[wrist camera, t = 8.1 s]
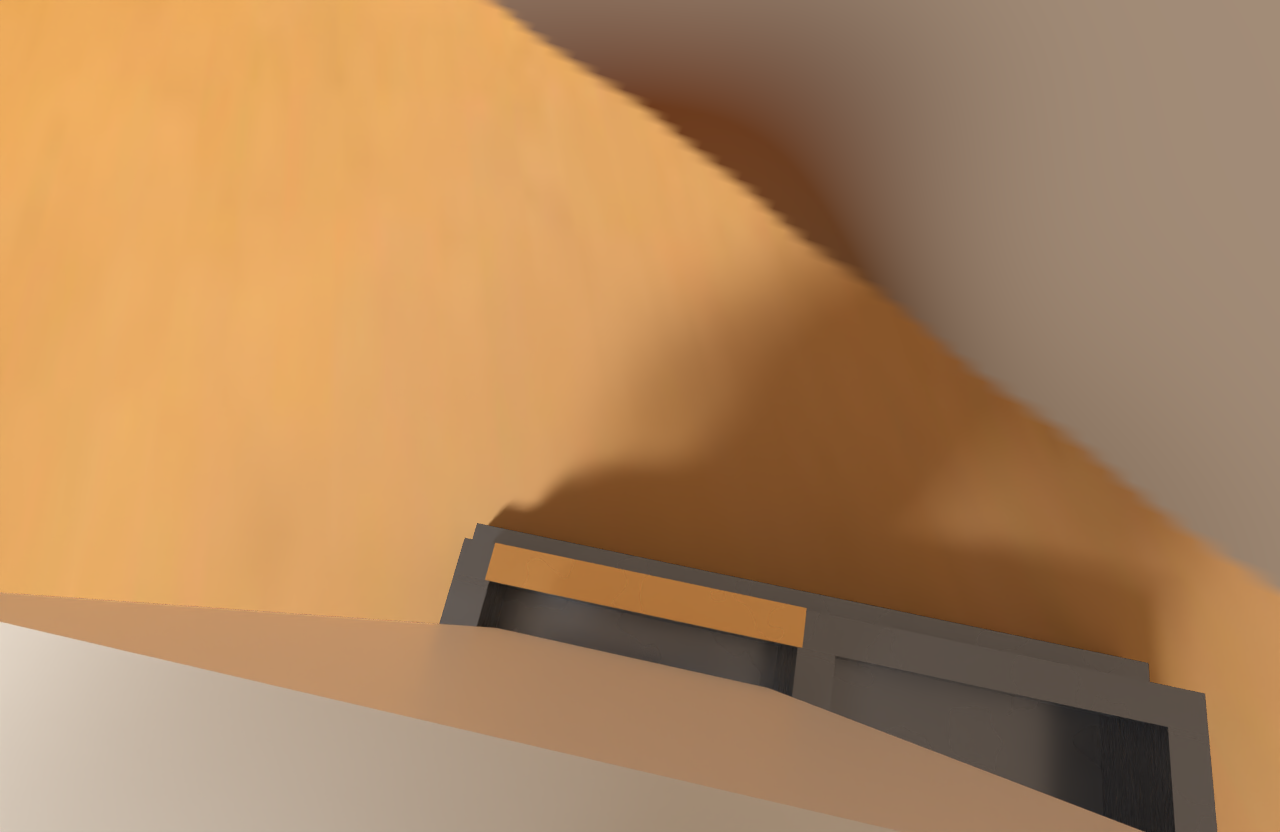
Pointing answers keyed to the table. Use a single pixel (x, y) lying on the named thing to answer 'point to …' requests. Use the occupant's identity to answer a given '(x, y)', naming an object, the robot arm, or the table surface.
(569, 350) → the table surface
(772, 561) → the table surface
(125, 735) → the white rectangular block
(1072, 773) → the rack
